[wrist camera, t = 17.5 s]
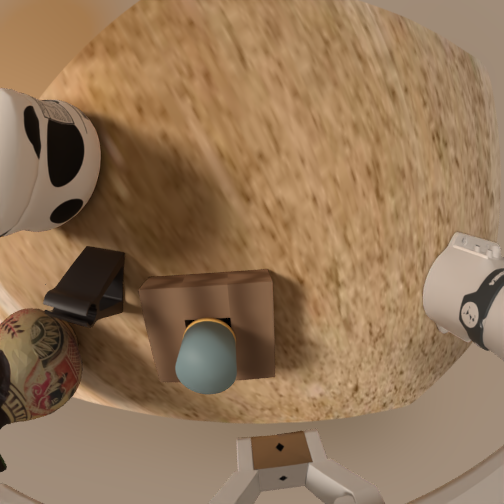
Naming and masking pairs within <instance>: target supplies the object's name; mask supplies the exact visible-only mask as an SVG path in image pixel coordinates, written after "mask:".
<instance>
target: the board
mask: <svg viewBox="0 0 504 504" xmlns="http://www.w3.org/2000/svg"><path fill="white" fill-rule="evenodd" d="M138 291H139V296H140V301H141V306H142V311H143V316H144V320H145V325H146V329H147V334H148V338H149V342H150V346H151V350H152V354H153V358H154V362H155V365H156V369H157V373H158V376H159V380H160V382H180V380H179V379H178V377H177V374H176V370H175V366H176V362H177V358H178V354H179V351H180V347H181V344H182V340H183V335H184V332H185V330H186V328H187V327H188V325H189V324H191V323H192V320H196V319H201V318H231V328H232V330H233V332H234V334H235V337H236V365H237V376H236V379H235V380H247V379H259V378H269V377H275V345H274V310H273V281H272V279H271V277H270V274H269V272H268V269H261V270H248V271H234V272H220V273H205V274H190V275H174V276H157V277H149V278H148V279H147V280H146V281H145V282H144V284H143V285H142V286H141V287H140V288H139V290H138Z"/></svg>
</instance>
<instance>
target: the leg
mask: <svg viewBox="0 0 504 504" xmlns="http://www.w3.org/2000/svg"><path fill="white" fill-rule="evenodd" d="M175 370H176V374H177V377H178V379H179V380H180V382H181V383H182V384H183V385H184V386H185V387H187V388H188V389H190V390H192V391H194V392H197V393H201V394H216V393H220V392H223V391H225V390H226V389H228V388H229V387H230V386H231V385H232V384H233V383H234V381H235V379H236V376H237V365H236V337H235V334H234V332H233V330H232V329H231V327H230V326H229V325H228V324H226V318H201V319H197V320H195V321H193V322H192V323H191V324H189V325H188V327H187V328H186V330H185V332H184V335H183V340H182V344H181V347H180V351H179V354H178V358H177V362H176V366H175Z"/></svg>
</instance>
